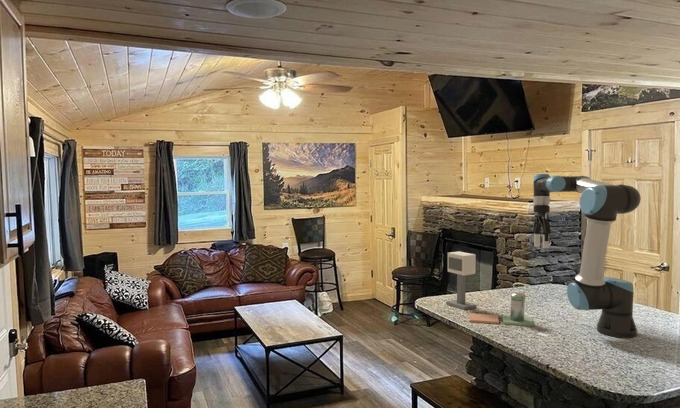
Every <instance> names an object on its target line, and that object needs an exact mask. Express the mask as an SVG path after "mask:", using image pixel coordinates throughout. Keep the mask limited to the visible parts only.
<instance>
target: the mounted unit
mask: <svg viewBox="0 0 680 408" xmlns="http://www.w3.org/2000/svg"><path fill="white" fill-rule="evenodd" d="M476 257H477V255H476V254H475V253H469V252H463V251H451V252H447V272H448V273H451V274H456V299H452V300H447V301H446V302H445V305H447V306H451V307H453V308H456V309H460V310H461V311H466V310H472V309H476V308H477V306H478V305H477V304H476V303H472V302H469V301H466V282H467V281H466V278H467V276H470V275H476V263H477V261H476Z"/></svg>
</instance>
